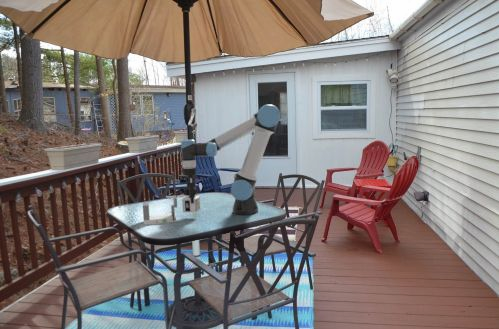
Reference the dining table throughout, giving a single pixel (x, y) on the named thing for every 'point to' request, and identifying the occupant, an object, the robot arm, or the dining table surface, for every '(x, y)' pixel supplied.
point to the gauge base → (155, 216)
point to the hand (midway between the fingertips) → (191, 206)
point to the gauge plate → (173, 206)
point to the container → (187, 202)
